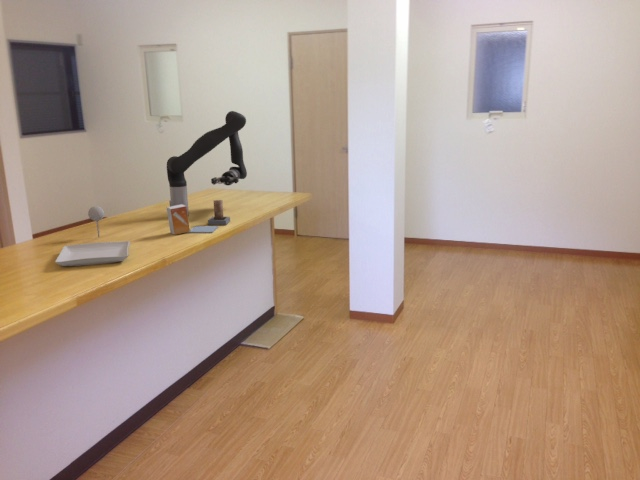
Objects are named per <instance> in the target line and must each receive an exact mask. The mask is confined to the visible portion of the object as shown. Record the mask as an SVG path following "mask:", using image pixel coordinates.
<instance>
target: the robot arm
mask: <svg viewBox="0 0 640 480" xmlns="http://www.w3.org/2000/svg"><path fill="white" fill-rule="evenodd" d="M246 124H247V119H246V116H245V115H244V114H242V113H240V112H237V111H234V110H231V111H228V112H227V113H226V114H225V124H223V125H221V126H220V127H217V128H215V129H211V130H209V131H207V132H205V133H204V134H203V135H201V136H200V137H199V138H197V139H196V140H195V141H194V142H193V144H192V145H191V147H190V148H189V149H188V150H186V151H185V152H184V153H182V154H180V155H179V156H175V155H173V156H171V157H169V158H168V160H167V162H166V175H167V180H168V181H167V182H168V183H169V196H170V200H169V201H168V202H169V207H171V206H175V205H181V204H183V205H185V206H186V208H187V214H188V217H189V216H190V212H189V199H188V186H187V179H186V177H185V172H186V171H187V170H188V169H190V167H191V166H192V165H193V164H195V162H197V161H198V160H200V159H201V158H203V157H204V156H205V155H207V154H208V153H210V152H211V151H212V150H214V149H215V148H216V147H217V146H218V145H220V144H221V143H222V142H224V141H226V140H227V139H229V146H230V162H231V163H232V164H234V165H236V166H230V167H229V169H228V170H227V171H225V172H223V173H222V174H221V176H219V177H215V176H214V177H213V178H211V179H210V180H211V181H210V182H211V184H212V185H213V186H214V185H216V184H218V185H220V184H223V185H225V186H232V185H233V184H238V183H239V181H240V180H244V179H246V178H247V176H248V171H247V169H246V168H247V167H246V166H245V162H244V153H243V152H244V151H243V146H242V145H243V144H242V143H241V139H240V135H239V131H241V130H242V129H243V128H244V127H245V126H246Z"/></svg>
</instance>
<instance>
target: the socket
mask: <svg viewBox="0 0 640 480" xmlns="http://www.w3.org/2000/svg"><path fill="white" fill-rule="evenodd" d="M223 219H224V220H215V217H214V216H211V217H210V218H209V219H207V226H226V225H228V224H229V223H230V222H231V217H230V216H223Z"/></svg>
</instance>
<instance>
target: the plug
mask: <svg viewBox="0 0 640 480" xmlns="http://www.w3.org/2000/svg"><path fill="white" fill-rule="evenodd" d="M213 214H214V216H213V217H215V220H224V219H223V217H224V205H223V200H222V199H215V200H213Z"/></svg>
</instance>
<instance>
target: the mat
mask: <svg viewBox="0 0 640 480" xmlns="http://www.w3.org/2000/svg"><path fill="white" fill-rule="evenodd" d="M218 228H219V225H205V226H204V225H202V226H201V225H198V226H197V225H196V226H193V227H192V228H191V229H190V232H187V233H188V234H212V233H215V231H216V230H218Z"/></svg>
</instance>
